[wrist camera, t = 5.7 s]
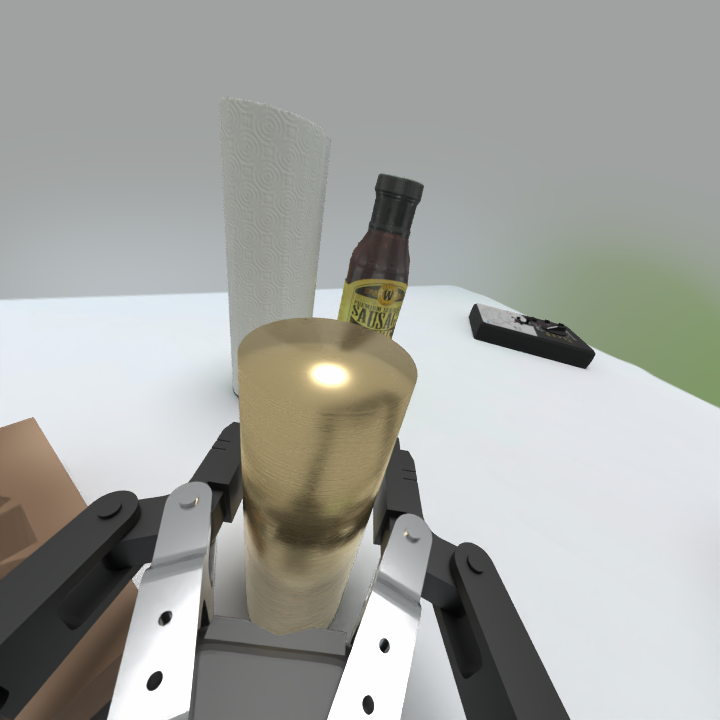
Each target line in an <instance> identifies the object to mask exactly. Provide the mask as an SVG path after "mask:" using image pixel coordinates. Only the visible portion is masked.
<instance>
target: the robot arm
mask: <svg viewBox="0 0 720 720" xmlns="http://www.w3.org/2000/svg"><path fill="white" fill-rule="evenodd" d="M242 498H243V489H242V463H241V438H240V423H237V422H233V423H232V424H230V425H229V426H228V427H226V428H225V429H224V430H223V431H222V433H221V434H220V436H219V437H218V439H217V441H216V442H215V443H214V445H213V446H212V449H210V451H209V452H208V454H207V456H206V457H205V459H204V460H203V462H202V463H201V465H200V466H199V468H198V469H197V471H196V472H195V474H194V475H193V477H192V478H191V480H190V481H189V482H188V483H186V484H184V485H181V486H180V487H178V488H177V489H175V490H174V491H173V492H172V493H171V494H169V495H166V496H161V497H154V498H147V499H140V500H138V498H137V496H136V495H135V494H134V493H132V492H130V491H116V492H112V493H109V494H106V495H104V496H102V497H100V498H99V499H97V500H96V501H94V502H93V503H92V504H91V505H89V506H88V507H87V508H86V509H85V510H83V511H82V512H81V513H80V514H79V515H77V516H76V517H75V518H74V519H73V520H71V521H70V522H69V523H68V524H67V525H65V526H64V527H63V528H62V529H61V530H60V531H58V532H57V533H56V534H55V535H54V536H52V537H51V538H50V539H49V540H48V541H46V542H45V543H44V544H43V545H42V546H40V547H39V548H38V549H37V550H36V551H34V552H33V553H32V554H31V555H30V556H28V557H27V558H26V559H25V560H24V561H23V562H21V563H20V564H19V565H18V566H17V567H15V568H14V569H13V570H12V571H11V572H9V573H8V574H7V575H6V576H5V577H3V578H2V579H1V580H0V720H14V719H15V718H16V717H17V716H18V714H19V713H20V712H21V711H22V710H23V708H24V707H25V706H26V705H27V704H28V702H29V701H30V700H31V699H32V698H33V696H34V695H35V694H36V693H37V692H38V690H39V689H40V688H41V687H42V686H43V684H44V683H45V682H46V681H47V680H48V678H49V677H50V676H51V675H52V674H53V673H54V671H55V670H56V669H57V668H58V667H59V665H60V664H61V663H62V662H63V661H64V659H65V658H66V657H67V656H68V655H69V653H70V652H71V651H72V650H73V649H74V647H75V646H76V645H77V644H78V643H79V641H80V640H81V639H82V638H83V637H84V635H85V634H86V633H87V632H88V631H89V629H90V628H91V627H92V626H93V625H94V624H95V622H96V621H97V620H98V619H99V618H100V616H101V615H102V614H103V613H104V612H105V610H106V609H107V608H108V607H109V606H110V604H111V603H112V602H113V601H114V600H115V598H116V597H117V596H118V595H119V594H120V592H121V591H122V590H123V589H124V588H125V586H126V585H127V584H128V583H129V582H130V580H131V579H132V578H133V577H134V576H135V575H136V573H137V572H138V571H139V570H140V569H141V567H142V566H143V565H144V564H146V563H151V562H152V563H151V566H150V568H148V569H146V570H145V572H144V574H143V577H142V580H141V583H140V587H139V591H138V595H137V600H136V604H135V608H134V612H133V616H132V620H131V624H130V628H129V632H128V636H127V641H126V645H125V649H124V653H123V657H122V661H121V665H120V669H119V673H118V678H117V682H116V686H115V690H114V694H113V698H112V699H111V700H110V701H108V702H107V703H106V704H105V705H104V706H103V707H102V708H101V709H100V710H99V711H98V712H97V713H96V714H95V715H94V716H92V717H91V718H90V719H89V720H400V716H401V711H402V706H403V701H404V696H405V691H406V686H407V681H408V676H409V671H410V666H411V661H412V656H413V651H414V646H415V641H416V636H417V631H418V626H419V621H420V616H421V605H420V597H422V598H424V599H425V600H427V601H429V602H431V603H432V605H433V608H434V612H435V615H436V618H437V622H438V625H439V628H440V632H441V635H442V638H443V642H444V645H445V648H446V652H447V655H448V658H449V662H450V665H451V668H452V672H453V675H454V679H455V682H456V685H457V689H458V692H459V695H460V699H461V702H462V705H463V709H464V712H465V715H466V719H467V720H570V718H569V716H568V714H567V712H566V710H565V708H564V706H563V704H562V702H561V700H560V698H559V696H558V694H557V692H556V690H555V688H554V686H553V684H552V682H551V680H550V678H549V675H548V673H547V671H546V669H545V667H544V665H543V663H542V661H541V659H540V657H539V655H538V653H537V651H536V649H535V647H534V645H533V643H532V641H531V639H530V637H529V635H528V633H527V631H526V629H525V627H524V625H523V623H522V621H521V619H520V617H519V615H518V613H517V611H516V609H515V607H514V604H513V602H512V600H511V598H510V596H509V594H508V592H507V590H506V588H505V586H504V584H503V582H502V580H501V578H500V576H499V574H498V572H497V570H496V568H495V566H494V564H493V562H492V560H491V558H490V557H489V556H488V554H487V553H486V552H485V551H484V550H483V549H482V548H480V547H479V546H477V545H475V544H473V543H469V542H465V543H461V544H460V545H459V546H458V547H457V546H455V545H453V544H451V543H449V542H447V541H445V540H443V539H441V538H439V537H438V536H436V535H435V534H434V533H433V532H432V531H431V530H430V528H429V526H428V525H427V524H426V522H425V521H424V518H423V514H422V508H421V502H420V495H419V489H418V483H417V476H416V470H415V464H414V460H413V458H412V457H411V455H410V453H409V452H408V451H405V450H400V444H399V438H398V437H397V439H396V442H395V445H394V448H393V451H392V454H391V457H390V459H389V462H388V465H387V468H386V471H385V474H384V477H383V480H382V483H381V485H380V488H379V491H378V494H377V497H376V500H375V503H374V506H373V544H376V545H381V557H380V559H379V562H378V565H377V568H376V570H375V573H374V576H373V579H372V581H371V584H370V587H369V590H368V593H367V595H366V598H365V601H364V604H363V607H362V609H361V612H360V615H359V617H358V620H357V622H356V625H355V627H354V630H353V633H352V636H351V638H350V641H349V643H347V642H346V632H342V631H334V630H326V629H318V628H312V629H307V630H303V631H298V632H294V633H289V634H285V635H275V634H273V633H271V632H269V631H267V630H266V629H264V628H262V627H260V626H258V625H256V624H254V623H252V622H250V621H249V620H247V619H239V618H231V617H223V616H215V615H214V582H215V566H216V551H217V534H218V532H219V530H220V528H221V525H222V523H223V522H229V523H232V521H233V519H234V516H235V514H236V512H237V509H238V507H239V505H240V503H241V500H242Z"/></svg>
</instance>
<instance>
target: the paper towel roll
mask: <svg viewBox="0 0 720 720" xmlns="http://www.w3.org/2000/svg"><path fill="white" fill-rule="evenodd" d="M219 117H220V137H221V156H222V176H223V197H224V215H225V216H224V217H225V236H226V256H227V276H228V296H229V316H230V336H231V355H232V375H233V389H234V392H235V393H236V394H237V395H238V396H239V387H238V361H237V351H238V347H239V345H240V343H241V341H242V340H243V339H244V337H245V336H246V335H247V334H249V333H250V332H251V331H253V330H255V329H256V328H258V327H260V326H263V325H265V324H268V323H271V322H274V321H279V320H284V319H291V318H312V316H313V306H314V297H315V287H316V278H317V269H318V259H319V250H320V240H321V231H322V222H323V212H324V202H325V193H326V184H327V175H328V163H329V156H330V146H331V139H329V138H328V137H326V136H325V135H324V130H323V129H322V128H320V127H319V126H317V125H316V124H314V123H313V122H311V121H310V120H308V119H306V118H304V117H301V116H299V115H296V114H294V113H292V112H289V111H285V110H282V109H279V108H276V107H273V106H270V105H267V104H262V103H258V102H254V101H250V100H245V99H238V98H231V97H226V98H219Z"/></svg>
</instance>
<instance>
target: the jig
mask: <svg viewBox="0 0 720 720" xmlns="http://www.w3.org/2000/svg"><path fill="white" fill-rule="evenodd" d="M86 508H87V505H86V503H85V502H84V500H83V498H82V497H81V495H80V493H79V492H78V490H77V488H76V487H75V485H74V483H73V482H72V480H71V478H70V477H69V475H68V473H67V472H66V470H65V468H64V467H63V465H62V463H61V462H60V460H59V458H58V457H57V455H56V454H55V452H54V450H53V449H52V447H51V445H50V444H49V442H48V440H47V439H46V437H45V435H44V434H43V432H42V430H41V429H40V427H39V425H38V424H37V422H36V420H35V419H34V417H32V418H29V419H26V420H23V421H20V422H17V423H14V424H11V425H8V426H5V427H1V428H0V580H1V579H2V578H3V577H5V576H6V575H7V574H8V573H9V572H11V571H12V570H13V569H14V568H15V567H17V566H18V565H19V564H20V563H21V562H23V561H24V560H25V559H26V558H27V557H28V556H30V555H31V554H32V553H33V552H34V551H36V550H37V549H38V548H39V547H40V546H42V545H43V544H44V543H45V542H46V541H48V540H49V539H50V538H51V537H52V536H54V535H55V534H56V533H57V532H58V531H60V530H61V529H62V528H63V527H64V526H65V525H67V524H68V523H69V522H70V521H71V520H73V519H74V518H75V517H76V516H77V515H79V514H80V513H81V512H82V511H83V510H85V509H86ZM137 595H138V589H137V588H136V586H135V584H134V583H133V581H132V579H131V580H130V582H129V583H128V584H127V585H126V586H125V588H124V589H123V590H122V591H121V592H120V594H119V595H118V596H117V597H116V598H115V600H114V601H113V602H112V603H111V604H110V606H109V607H108V608H107V609H106V610H105V612H104V613H103V614H102V615H101V616H100V618H99V619H98V620H97V621H96V622H95V624H94V625H93V626H92V627H91V628H90V629H89V631H88V632H87V633H86V634H85V635H84V637H83V638H82V639H81V640H80V641H79V643H78V644H77V645H76V646H75V647H74V649H73V650H72V651H71V652H70V653H69V655H68V656H67V657H66V658H65V659H64V661H63V662H62V663H61V664H60V665H59V667H58V668H57V669H56V670H55V671H54V673H53V674H52V675H51V676H50V677H49V678H48V680H47V681H46V682H45V683H44V684H43V686H42V687H41V688H40V689H39V690H38V692H37V693H36V694H35V695H34V696H33V698H32V699H31V700H30V701H29V702H28V704H27V705H26V706H25V707H24V708H23V710H22V711H21V712H20V713H19V714H18V716H17V717H16V718H15V719H14V720H89V719H90V718H91V717H92V716H94V715H95V714H96V713H97V712H98V711H99V710H100V709H101V708H102V707H103V706H104V705H105V704H106V703H107V702H108V701H110V700H111V699H112V698H113V694H114V690H115V686H116V682H117V678H118V673H119V669H120V665H121V661H122V657H123V653H124V649H125V645H126V641H127V636H128V632H129V628H130V624H131V620H132V616H133V612H134V608H135V604H136V600H137Z"/></svg>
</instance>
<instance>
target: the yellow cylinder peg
mask: <svg viewBox="0 0 720 720" xmlns="http://www.w3.org/2000/svg"><path fill="white" fill-rule="evenodd" d="M237 361H238V387H239V412H240V438H241V463H242V489H243V515H244V540H245V566H246V592H247V609H248V614H249V618H250V621H251V622H252V623H254V624H256V625H258V626H260V627H262V628H264V629H266V630H267V631H269V632H271V633H273V634H275V635H285V634H289V633H294V632H298V631H303V630H307V629H312V628H318V629H327V628H328V626H329V625H330V623H331V622H332V620H333V618H334V616H335V614H336V612H337V610H338V607H339V604H340V601H341V598H342V595H343V592H344V590H345V587H346V584H347V581H348V578H349V575H350V572H351V569H352V566H353V564H354V561H355V558H356V555H357V552H358V549H359V546H360V543H361V540H362V538H363V535H364V532H365V529H366V526H367V523H368V520H369V517H370V514H371V511H372V509H373V506H374V503H375V500H376V497H377V494H378V491H379V488H380V485H381V483H382V480H383V477H384V474H385V471H386V468H387V465H388V462H389V459H390V457H391V454H392V451H393V448H394V445H395V442H396V439H397V436H398V433H399V431H400V428H401V425H402V422H403V419H404V416H405V413H406V410H407V407H408V404H409V402H410V399H411V396H412V393H413V390H414V387H415V384H416V381H417V368H416V365H415V363H414V361H413V359H412V358H411V356H410V355H409V354H408V353H407V352H406V351H405V350H404V349H403V348H402V347H401V346H400V345H399V344H397V343H396V342H394V341H393V340H392V339H390V338H388V337H386V336H385V335H383V334H381V333H379V332H376V331H374V330H372V329H369V328H366V327H363V326H360V325H357V324H353V323H349V322H345V321H340V320H334V319H326V318H291V319H284V320H279V321H274V322H271V323H268V324H265V325H263V326H260V327H258V328H256V329H255V330H253V331H251V332H250V333H249V334H247V335H246V336H245V337H244V339H243V340H242V341H241V343H240V345H239V347H238V351H237Z"/></svg>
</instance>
